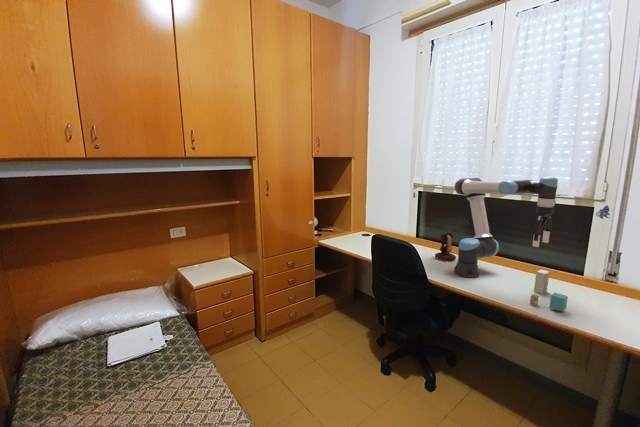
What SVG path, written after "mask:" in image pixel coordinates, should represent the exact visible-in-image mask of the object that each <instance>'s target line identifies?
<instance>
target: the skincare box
mask: <svg viewBox="0 0 640 427" xmlns="http://www.w3.org/2000/svg"><path fill="white" fill-rule="evenodd" d="M549 279H550V271H549V270H545V269H539V270H537V271H536V275H535V279H534V280H535V281H534V285H533V287H534V288H533V292H535V293H539V294H541V295H543V294H544V293H546V292H548V286H549Z"/></svg>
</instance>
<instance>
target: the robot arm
mask: <svg viewBox="0 0 640 427" xmlns="http://www.w3.org/2000/svg"><path fill="white" fill-rule="evenodd" d="M558 181H559V180H558V178H557V177H554V176H552V177H551V176H546V177H545V176H542V177H540V179H539V180H536V179H534V180H533V179H520V180H509V179H508V180H485V179H484V178H480V177H479V178H478V177H470V178H461V179H458V180H457V181H456V182H455V183H454V191H455V193H456V194H458V196H459V195H460V196H465V197H466V200H467V201H469V206H470V210H471V218H472V221H473V222H472V223H473V228H474V233H475V235H474V237H470V238H469V237H466V238H462V239H460V241H459V244H458V255H457V262H456V265H455V267H454V268H453V274H455V275H457V276H459V277H463V278H468V279H475V278H479V277H480V269H479V265H478V263H479V262H478V260H479V259H482V258H490V257H493V256H496V255H497V253H498V252H499V250H500V246H499V242H498V241H497V240H496V239H494V236H493V235H492V234H491V233H490V226H489V222H488V216H487V210H486V204H485V198H486V194H489V195H490V194H491V195H492V194H493V195H496V194H497V195H507V196H508V195H525V194H529V195H537V201H536V202H537V203H536V209H535V210H536V211H535V212H536V214H539V215H537V216H536V219H535V223H534V225H533V229H532V232H531V234H532V235H533V236H532V237H533V238H532V247H535V248H540V241H541V242H542V243H544V244H549V241H550V234H551V233H552V232H553V227H552V226H553V224H552V215H553V214H554V213H555V206H556V205H555V204H556V203H557V200H556V196H557V190H558V184H559V183H558ZM543 228H544V230H543V233H542V240H541V232H542V229H543Z"/></svg>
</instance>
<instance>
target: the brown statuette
mask: <svg viewBox="0 0 640 427" xmlns="http://www.w3.org/2000/svg"><path fill="white" fill-rule="evenodd" d="M440 239H441V243H440V244H441V246H440V248H439V250H440V252H436V253H435V254H434V256H435V259H440V260H445V261H448V262H449V261H454V260H456V259H457V256H456V255H455V254H453V253H452V250H453V246H452V245H453V243H452V241H453V234H452V233H450V232H447V233H446V234H445V233H443V234H441V236H440Z"/></svg>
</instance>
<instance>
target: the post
mask: <svg viewBox="0 0 640 427" xmlns="http://www.w3.org/2000/svg"><path fill="white" fill-rule="evenodd" d="M538 304H539V295H537V294H535V293H532V294H531V295H530V301H529V305H532V306H535V307H536V306H538Z"/></svg>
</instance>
